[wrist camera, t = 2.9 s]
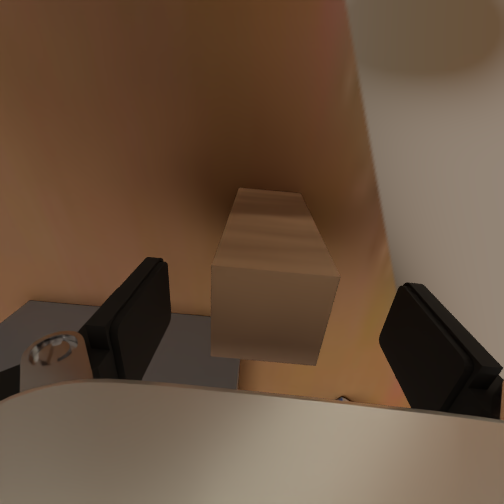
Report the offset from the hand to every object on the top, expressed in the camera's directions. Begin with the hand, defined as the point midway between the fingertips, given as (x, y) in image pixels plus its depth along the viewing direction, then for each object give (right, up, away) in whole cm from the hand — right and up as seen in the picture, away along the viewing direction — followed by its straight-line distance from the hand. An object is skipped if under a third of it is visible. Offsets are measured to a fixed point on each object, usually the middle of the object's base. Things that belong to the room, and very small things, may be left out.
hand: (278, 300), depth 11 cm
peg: (0, +4, +7) cm, 8 cm away
